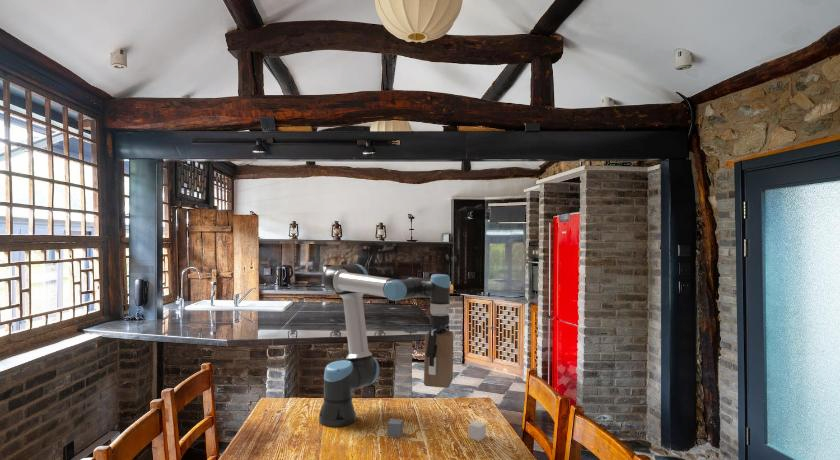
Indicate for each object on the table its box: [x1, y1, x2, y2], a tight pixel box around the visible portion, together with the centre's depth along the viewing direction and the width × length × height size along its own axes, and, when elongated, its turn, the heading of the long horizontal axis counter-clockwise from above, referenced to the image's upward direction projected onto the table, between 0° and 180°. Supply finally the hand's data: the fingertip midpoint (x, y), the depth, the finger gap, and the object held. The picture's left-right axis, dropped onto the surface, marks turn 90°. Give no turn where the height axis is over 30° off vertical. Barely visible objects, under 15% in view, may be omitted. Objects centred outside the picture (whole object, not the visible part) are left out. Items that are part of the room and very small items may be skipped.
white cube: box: [467, 420, 487, 442], centre depth 187 cm, size 5×5×5 cm
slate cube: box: [386, 418, 404, 438], centre depth 188 cm, size 5×5×5 cm
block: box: [423, 330, 455, 389], centre depth 188 cm, size 10×10×20 cm
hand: (438, 370), depth 188 cm, fingers closed on block, 11 cm apart
